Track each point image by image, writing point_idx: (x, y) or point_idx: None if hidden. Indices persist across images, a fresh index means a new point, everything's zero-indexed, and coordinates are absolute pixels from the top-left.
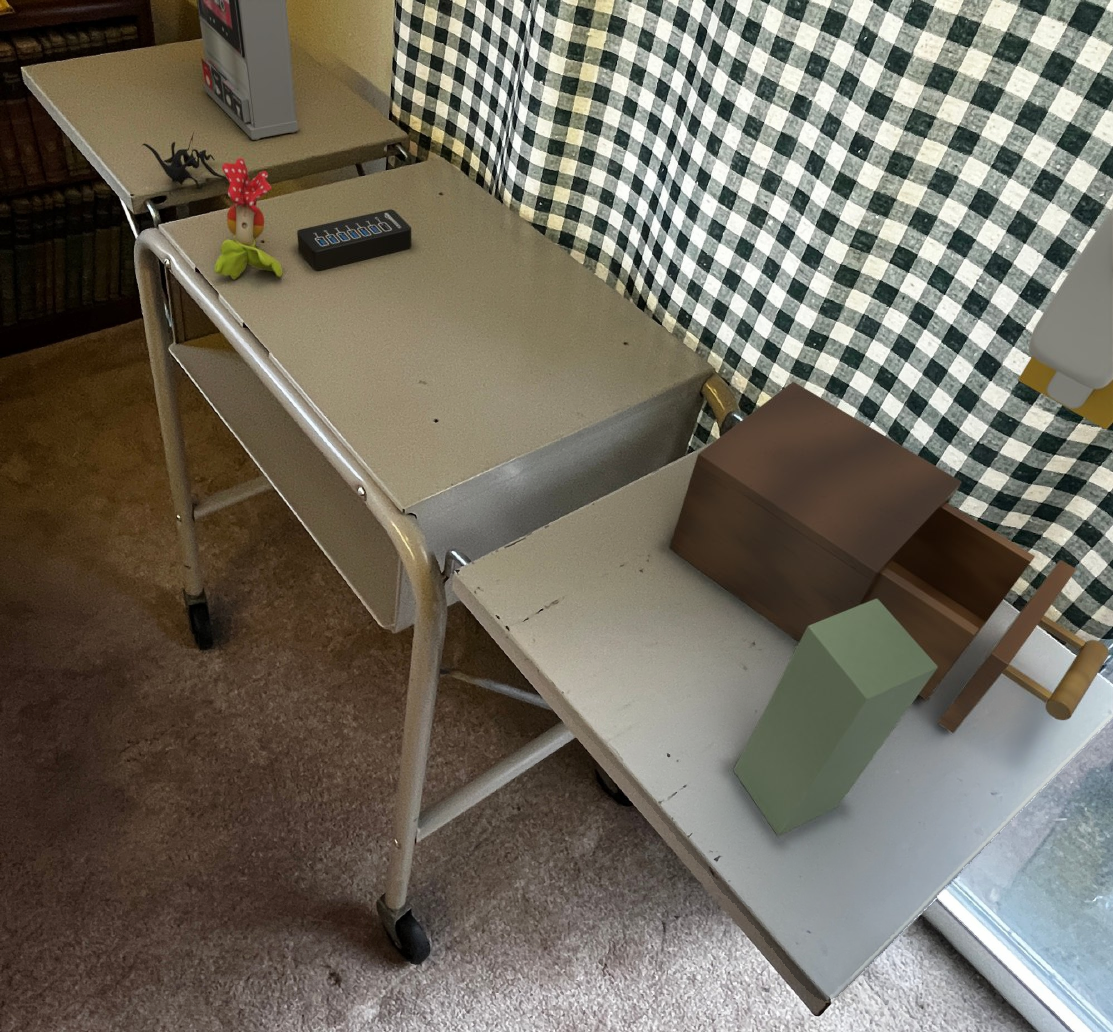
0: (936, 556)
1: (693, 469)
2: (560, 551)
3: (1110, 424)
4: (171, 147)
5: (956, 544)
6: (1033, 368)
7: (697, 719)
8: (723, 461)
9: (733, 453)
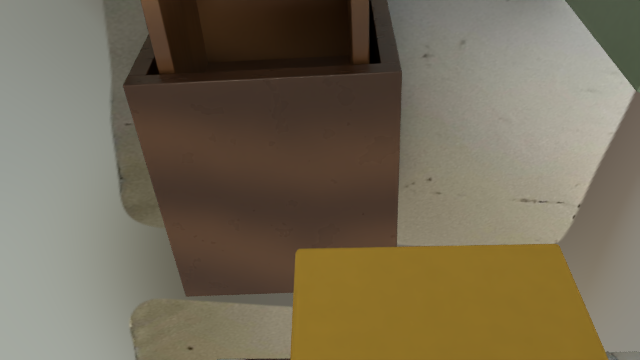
0: (184, 5)
1: None
2: (467, 232)
3: (546, 252)
4: None
5: (173, 7)
6: None
7: (560, 35)
8: None
9: None
